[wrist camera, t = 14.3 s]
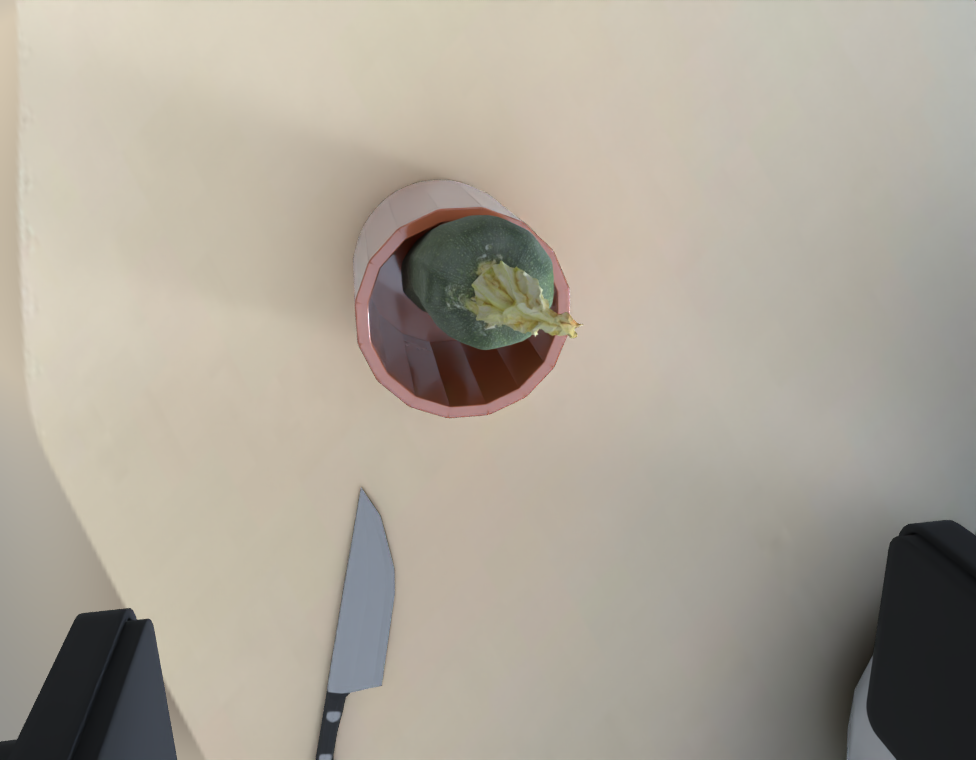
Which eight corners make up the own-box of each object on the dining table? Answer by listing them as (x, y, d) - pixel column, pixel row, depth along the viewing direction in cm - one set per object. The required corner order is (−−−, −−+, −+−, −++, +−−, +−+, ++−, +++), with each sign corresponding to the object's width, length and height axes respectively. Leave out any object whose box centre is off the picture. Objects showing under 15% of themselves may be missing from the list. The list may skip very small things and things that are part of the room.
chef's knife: (416, 490, 46) (360, 485, 46) (419, 499, 45) (361, 494, 45) (361, 782, 52) (310, 782, 51) (363, 797, 51) (310, 797, 50)
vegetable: (372, 261, 41) (409, 283, 22) (442, 201, 41) (540, 170, 22) (433, 331, 42) (520, 412, 23) (501, 272, 42) (644, 304, 23)
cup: (360, 351, 44) (364, 425, 34) (347, 183, 41) (347, 213, 32) (523, 340, 45) (569, 409, 35) (520, 175, 42) (570, 202, 33)
